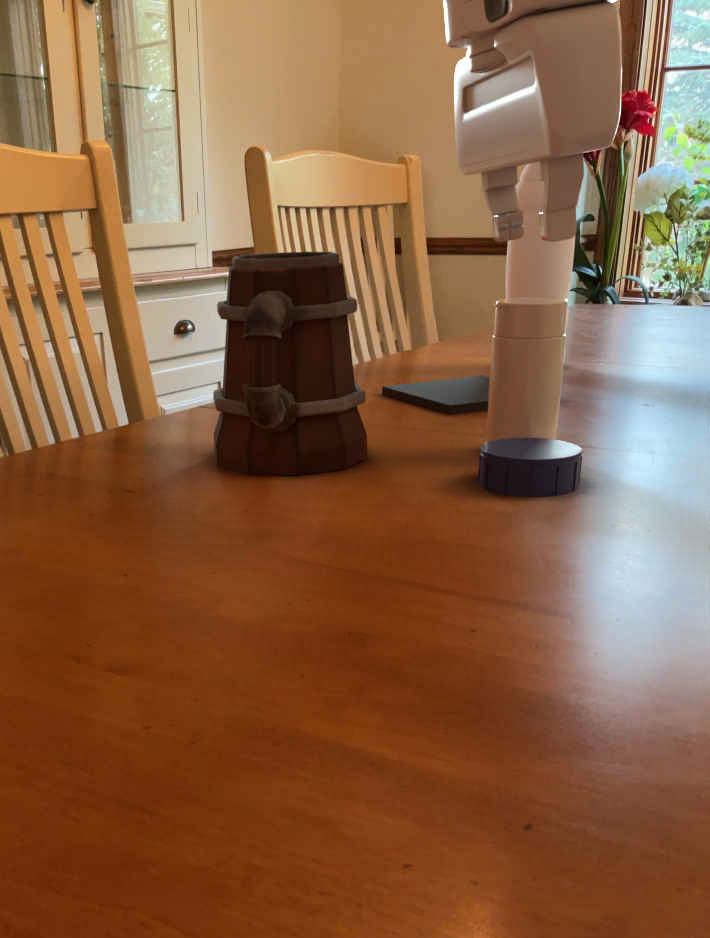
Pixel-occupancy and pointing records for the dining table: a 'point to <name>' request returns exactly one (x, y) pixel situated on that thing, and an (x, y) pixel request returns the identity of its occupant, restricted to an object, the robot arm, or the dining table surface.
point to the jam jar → (526, 368)
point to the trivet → (444, 394)
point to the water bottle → (537, 249)
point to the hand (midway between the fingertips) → (531, 240)
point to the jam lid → (530, 467)
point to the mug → (288, 368)
